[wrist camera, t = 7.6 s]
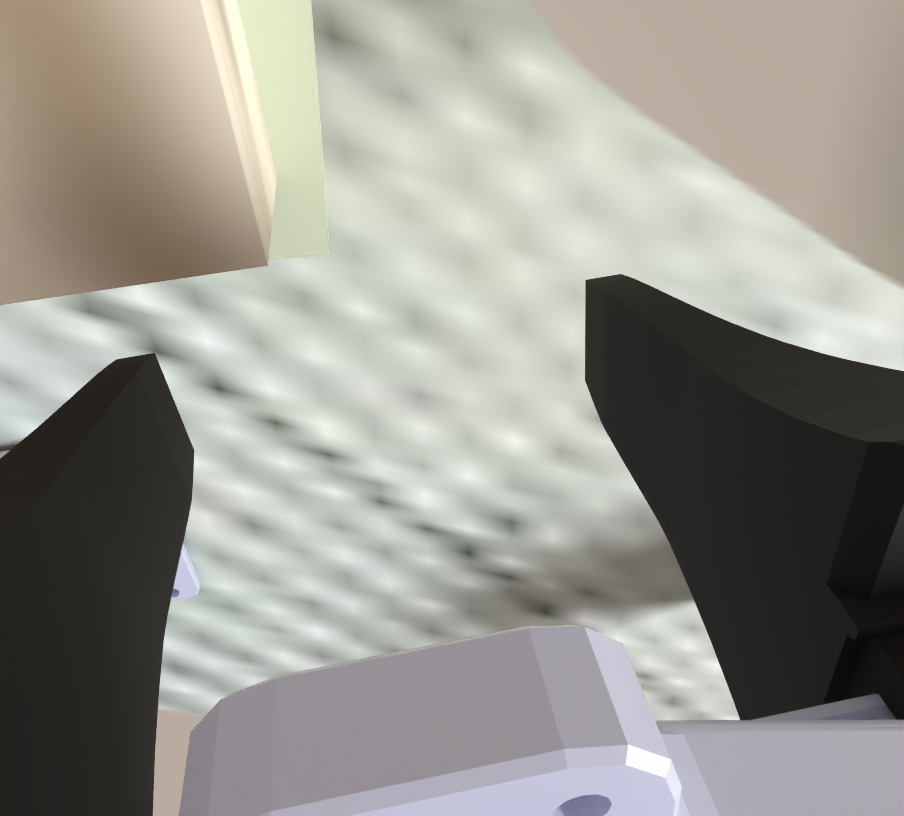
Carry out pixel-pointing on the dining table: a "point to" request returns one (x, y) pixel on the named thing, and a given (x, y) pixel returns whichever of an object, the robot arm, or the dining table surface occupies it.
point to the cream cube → (128, 145)
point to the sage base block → (290, 121)
